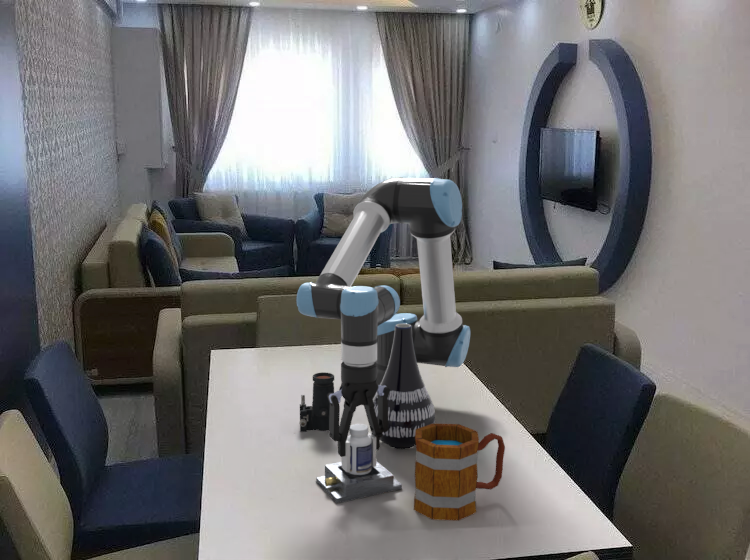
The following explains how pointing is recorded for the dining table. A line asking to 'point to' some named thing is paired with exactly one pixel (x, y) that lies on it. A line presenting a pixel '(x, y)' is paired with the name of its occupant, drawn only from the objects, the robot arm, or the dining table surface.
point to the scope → (317, 404)
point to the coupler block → (356, 482)
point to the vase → (404, 393)
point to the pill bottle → (360, 450)
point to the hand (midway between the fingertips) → (358, 466)
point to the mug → (450, 470)
